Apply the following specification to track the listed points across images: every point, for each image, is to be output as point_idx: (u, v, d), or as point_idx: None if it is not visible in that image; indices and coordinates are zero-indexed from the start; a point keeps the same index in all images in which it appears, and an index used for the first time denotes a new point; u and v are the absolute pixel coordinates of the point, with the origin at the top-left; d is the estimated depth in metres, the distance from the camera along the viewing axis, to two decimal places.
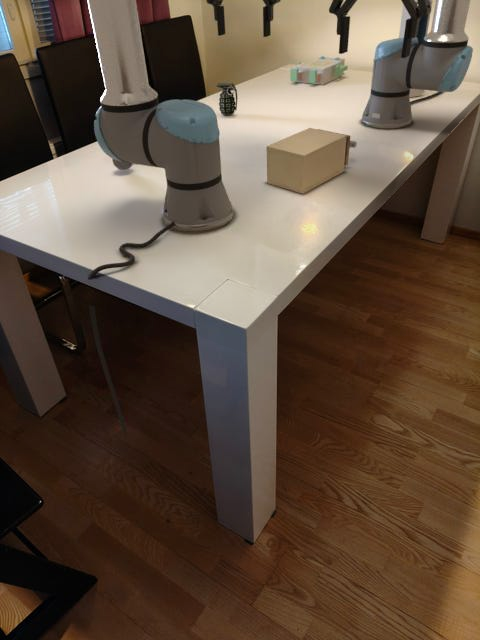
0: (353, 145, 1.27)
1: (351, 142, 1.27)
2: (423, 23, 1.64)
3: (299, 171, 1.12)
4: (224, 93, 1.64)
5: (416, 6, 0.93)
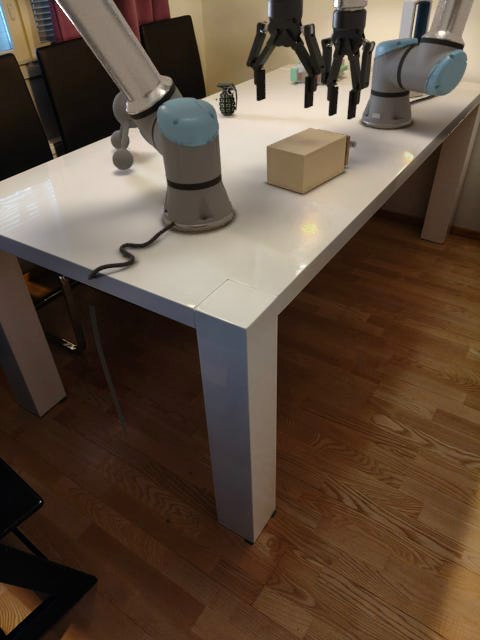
0: (353, 145, 1.27)
1: (351, 142, 1.27)
2: (423, 23, 1.64)
3: (299, 171, 1.12)
4: (224, 93, 1.64)
5: None
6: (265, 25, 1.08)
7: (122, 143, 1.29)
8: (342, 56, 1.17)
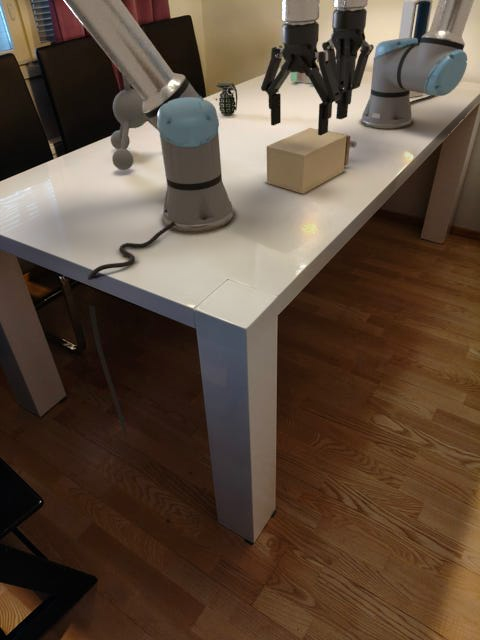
0: (353, 145, 1.27)
1: (351, 142, 1.27)
2: (423, 23, 1.64)
3: (299, 171, 1.12)
4: (224, 93, 1.64)
5: None
6: (280, 50, 1.05)
7: (122, 143, 1.29)
8: None
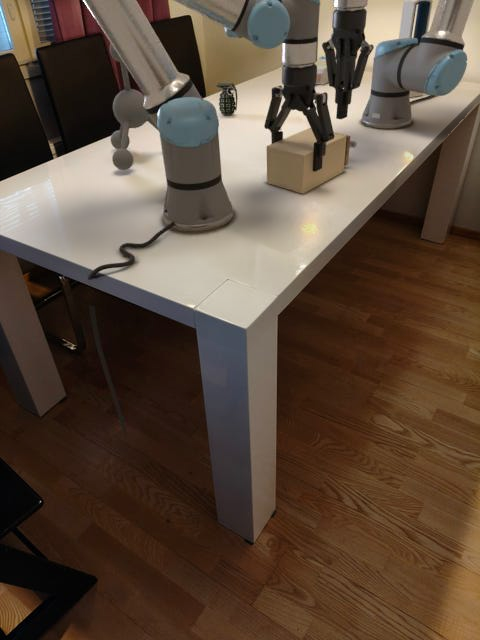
0: (353, 145, 1.27)
1: (351, 142, 1.27)
2: (423, 23, 1.64)
3: (299, 171, 1.12)
4: (224, 93, 1.64)
5: None
6: (280, 89, 1.10)
7: (122, 143, 1.29)
8: None
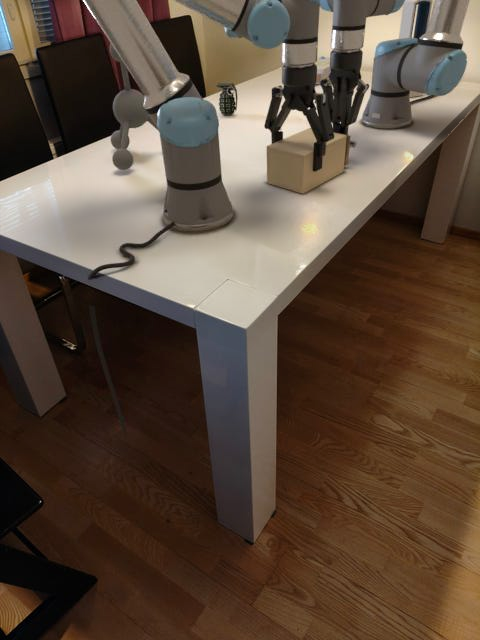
0: (353, 145, 1.27)
1: (351, 142, 1.27)
2: (423, 23, 1.64)
3: (299, 171, 1.12)
4: (224, 93, 1.64)
5: None
6: (280, 89, 1.10)
7: (122, 143, 1.29)
8: (342, 93, 1.21)
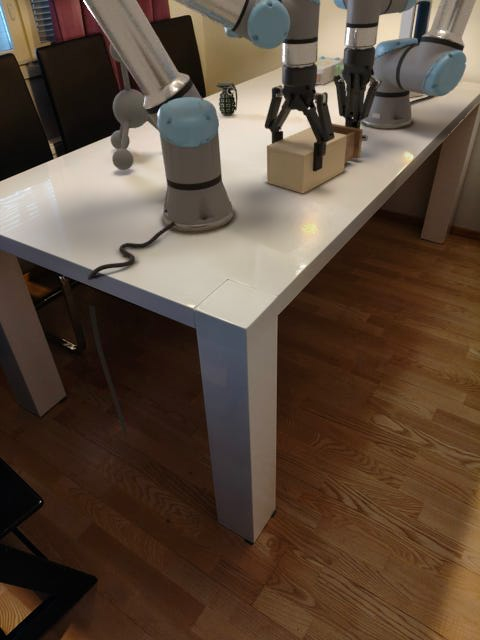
0: (365, 139, 1.30)
1: (363, 136, 1.31)
2: (423, 23, 1.64)
3: (300, 171, 1.12)
4: (224, 93, 1.64)
5: None
6: (280, 89, 1.10)
7: (122, 143, 1.29)
8: (355, 89, 1.25)
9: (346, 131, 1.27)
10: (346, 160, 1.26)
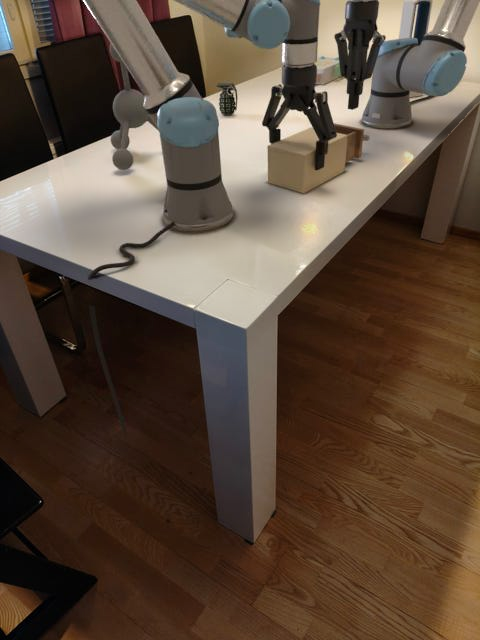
0: (366, 139, 1.31)
1: (364, 136, 1.31)
2: (423, 23, 1.64)
3: (300, 171, 1.12)
4: (224, 93, 1.64)
5: None
6: (280, 89, 1.10)
7: (122, 143, 1.29)
8: None
9: (347, 131, 1.27)
10: (347, 160, 1.26)
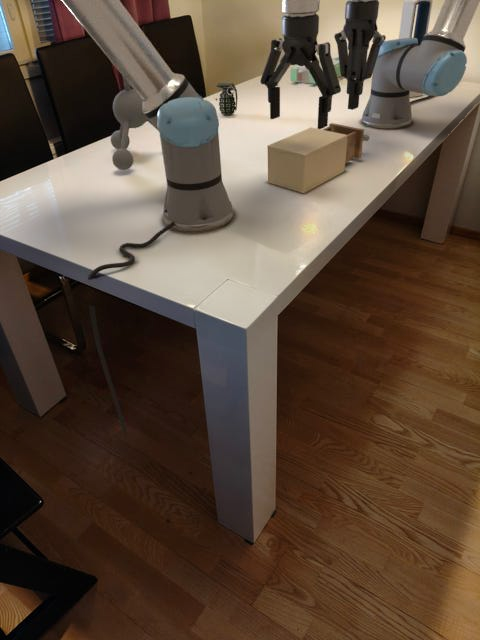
0: (366, 139, 1.31)
1: (364, 136, 1.31)
2: (423, 23, 1.64)
3: (300, 171, 1.12)
4: (224, 93, 1.64)
5: None
6: (280, 42, 1.05)
7: (122, 143, 1.29)
8: None
9: (347, 131, 1.27)
10: (347, 160, 1.26)
